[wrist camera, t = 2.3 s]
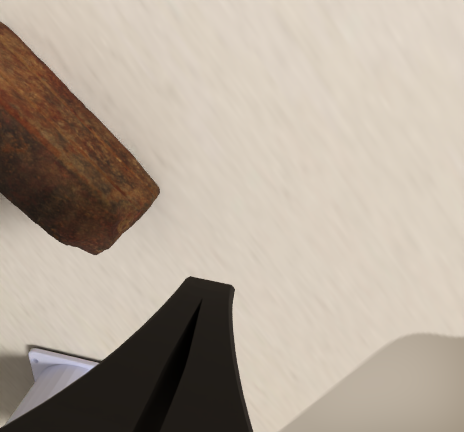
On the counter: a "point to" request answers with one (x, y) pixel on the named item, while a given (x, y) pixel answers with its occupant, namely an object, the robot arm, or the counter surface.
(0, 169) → the brick
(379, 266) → the counter surface
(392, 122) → the counter surface
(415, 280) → the counter surface
